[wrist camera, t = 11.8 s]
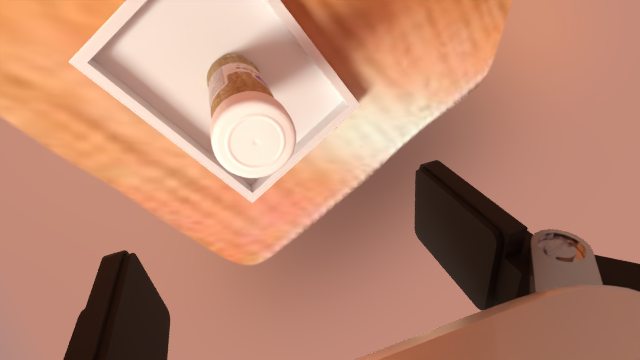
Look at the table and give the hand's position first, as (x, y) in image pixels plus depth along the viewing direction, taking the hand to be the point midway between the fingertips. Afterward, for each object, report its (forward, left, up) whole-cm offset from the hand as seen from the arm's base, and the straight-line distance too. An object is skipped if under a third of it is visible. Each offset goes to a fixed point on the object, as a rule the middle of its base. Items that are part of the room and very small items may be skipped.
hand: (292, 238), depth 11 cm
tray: (0, 0, -22) cm, 22 cm away
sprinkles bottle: (0, 0, -22) cm, 22 cm away
